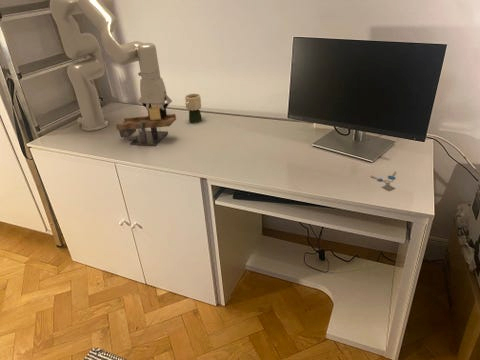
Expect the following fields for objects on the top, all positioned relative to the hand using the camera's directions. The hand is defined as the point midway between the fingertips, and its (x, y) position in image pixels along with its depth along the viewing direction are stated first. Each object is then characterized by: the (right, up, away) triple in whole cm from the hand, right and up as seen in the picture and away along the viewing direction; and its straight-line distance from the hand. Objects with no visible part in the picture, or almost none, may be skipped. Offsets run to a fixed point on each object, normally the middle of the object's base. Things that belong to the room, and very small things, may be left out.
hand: (158, 117), depth 160 cm
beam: (-5, -6, +5) cm, 9 cm away
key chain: (+84, -28, -34) cm, 95 cm away
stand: (-5, -9, +7) cm, 12 cm away
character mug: (+14, +2, +23) cm, 27 cm away
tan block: (0, -1, +1) cm, 1 cm away
